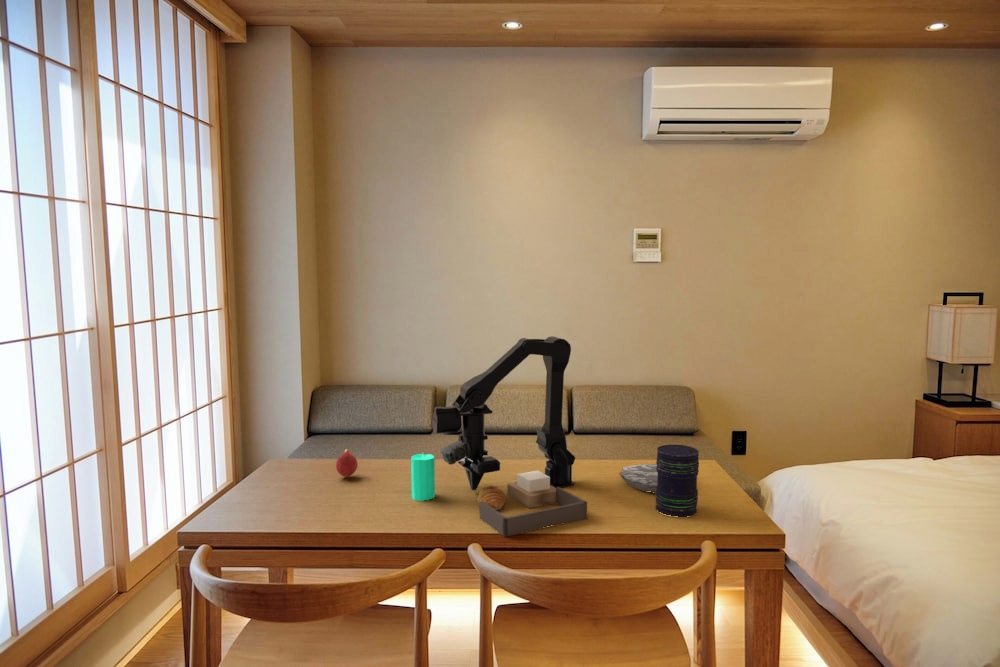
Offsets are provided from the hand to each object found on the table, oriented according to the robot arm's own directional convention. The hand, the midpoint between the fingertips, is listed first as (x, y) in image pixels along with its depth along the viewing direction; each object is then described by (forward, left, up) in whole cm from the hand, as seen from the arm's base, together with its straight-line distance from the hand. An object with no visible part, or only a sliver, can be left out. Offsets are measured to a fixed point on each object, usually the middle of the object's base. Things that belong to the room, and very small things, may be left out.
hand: (473, 489), depth 176 cm
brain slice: (-45, +16, -1) cm, 48 cm away
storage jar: (-37, +34, -1) cm, 51 cm away
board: (-11, +11, -1) cm, 16 cm away
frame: (-4, +22, -1) cm, 23 cm away
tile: (-11, +11, +2) cm, 16 cm away
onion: (+26, -28, -1) cm, 38 cm away
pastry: (-1, +9, -1) cm, 10 cm away
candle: (+13, -4, -1) cm, 13 cm away
